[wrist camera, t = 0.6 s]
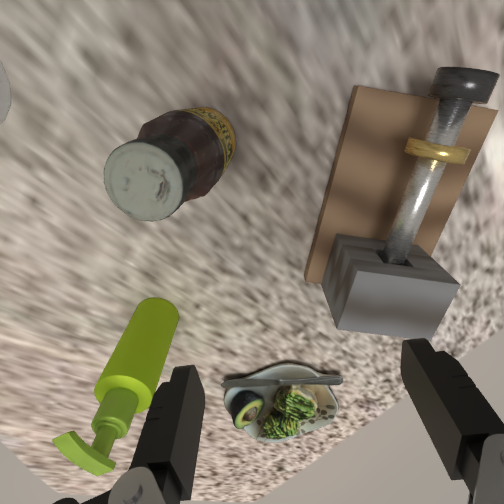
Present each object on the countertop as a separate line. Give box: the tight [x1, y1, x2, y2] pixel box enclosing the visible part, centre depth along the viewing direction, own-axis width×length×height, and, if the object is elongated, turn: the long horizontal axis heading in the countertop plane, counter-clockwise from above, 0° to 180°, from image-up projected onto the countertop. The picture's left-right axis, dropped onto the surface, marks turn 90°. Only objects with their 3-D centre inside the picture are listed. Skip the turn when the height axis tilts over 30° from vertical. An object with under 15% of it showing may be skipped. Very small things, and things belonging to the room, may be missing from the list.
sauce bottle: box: [104, 107, 236, 221], centre depth 24 cm, size 7×6×20 cm
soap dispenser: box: [52, 298, 179, 476], centre depth 35 cm, size 6×7×20 cm
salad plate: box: [221, 363, 343, 443], centre depth 50 cm, size 19×18×5 cm
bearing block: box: [304, 86, 498, 341], centre depth 32 cm, size 22×14×10 cm, turn 171°
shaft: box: [380, 67, 500, 266], centre depth 30 cm, size 20×5×5 cm, turn 171°
